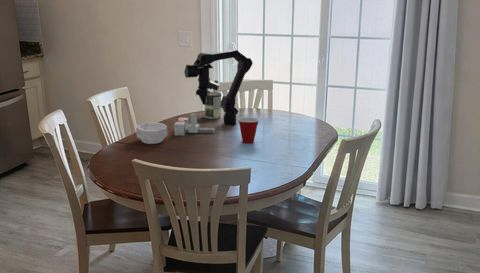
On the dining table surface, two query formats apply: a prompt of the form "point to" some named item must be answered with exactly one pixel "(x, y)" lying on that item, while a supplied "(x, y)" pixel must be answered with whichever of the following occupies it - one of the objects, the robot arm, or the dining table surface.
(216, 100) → the coffee can
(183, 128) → the grey blocky piece
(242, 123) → the plastic cup
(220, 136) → the dining table surface
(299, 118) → the dining table surface
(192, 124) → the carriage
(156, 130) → the paper bowls
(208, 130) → the rail
